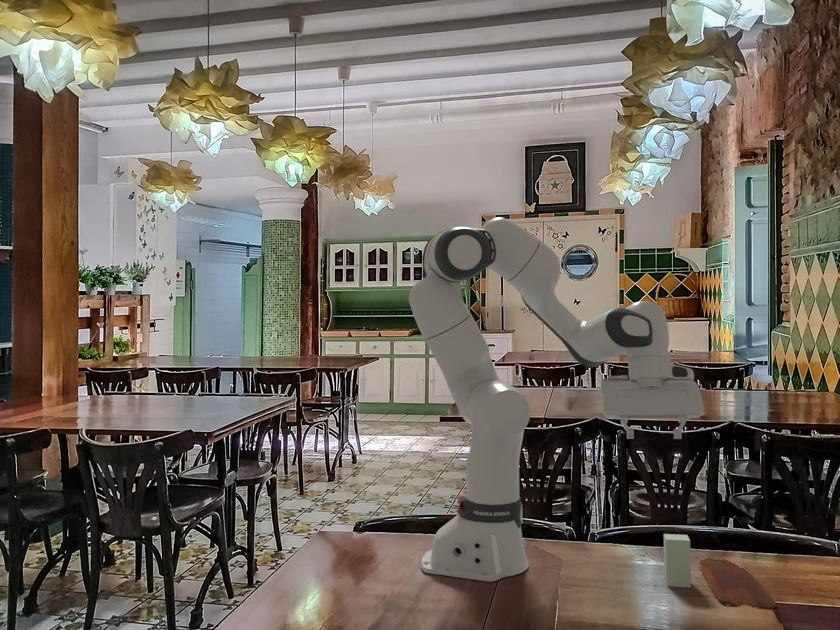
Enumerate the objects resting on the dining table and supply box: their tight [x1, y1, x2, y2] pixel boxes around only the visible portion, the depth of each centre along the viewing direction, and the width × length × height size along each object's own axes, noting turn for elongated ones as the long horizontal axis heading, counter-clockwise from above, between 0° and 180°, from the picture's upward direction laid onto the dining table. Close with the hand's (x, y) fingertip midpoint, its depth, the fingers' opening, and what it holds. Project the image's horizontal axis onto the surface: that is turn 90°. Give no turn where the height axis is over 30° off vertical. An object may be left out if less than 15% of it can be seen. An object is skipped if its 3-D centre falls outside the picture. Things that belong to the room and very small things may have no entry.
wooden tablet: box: [700, 559, 778, 610], centre depth 135 cm, size 27×10×2 cm, turn 169°
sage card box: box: [663, 533, 692, 589], centre depth 134 cm, size 4×3×9 cm
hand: (653, 438), depth 144 cm, fingers open, 8 cm apart
